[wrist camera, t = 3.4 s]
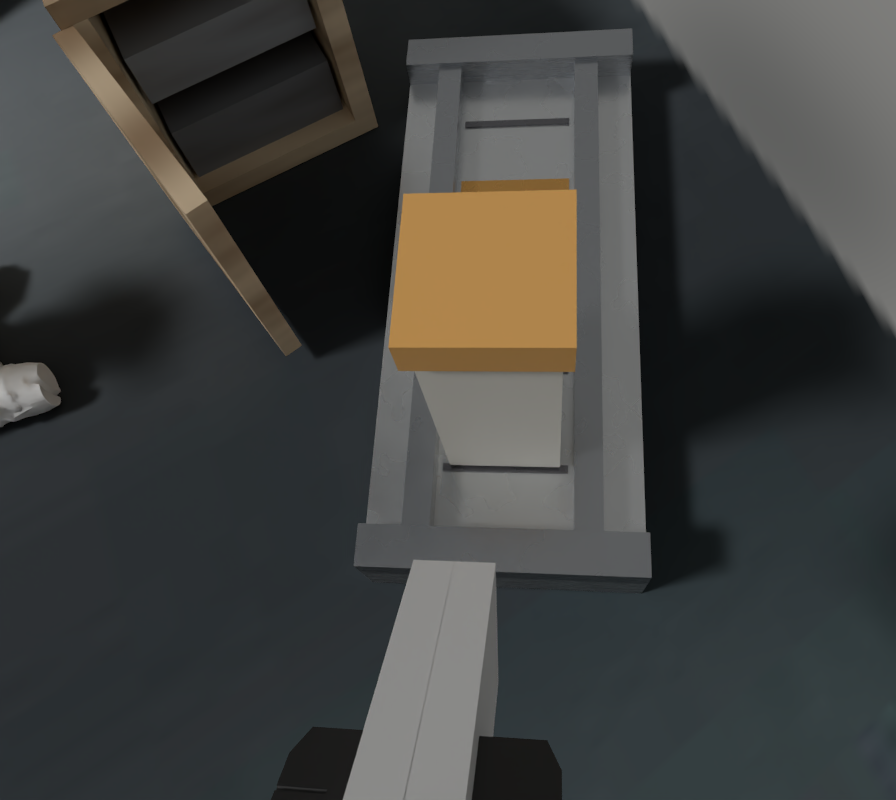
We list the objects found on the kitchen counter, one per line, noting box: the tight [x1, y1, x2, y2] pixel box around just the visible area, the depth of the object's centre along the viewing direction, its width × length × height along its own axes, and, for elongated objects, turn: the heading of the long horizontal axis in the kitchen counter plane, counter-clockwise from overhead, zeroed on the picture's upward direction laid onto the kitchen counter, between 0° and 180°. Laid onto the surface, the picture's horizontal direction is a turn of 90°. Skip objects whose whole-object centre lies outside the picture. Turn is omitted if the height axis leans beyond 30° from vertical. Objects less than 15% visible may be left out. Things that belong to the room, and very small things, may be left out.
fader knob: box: [388, 189, 577, 467], centre depth 25 cm, size 5×5×10 cm
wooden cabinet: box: [42, 0, 378, 356], centre depth 33 cm, size 20×10×12 cm, turn 27°
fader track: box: [354, 29, 652, 593], centre depth 33 cm, size 24×10×3 cm, turn 177°
